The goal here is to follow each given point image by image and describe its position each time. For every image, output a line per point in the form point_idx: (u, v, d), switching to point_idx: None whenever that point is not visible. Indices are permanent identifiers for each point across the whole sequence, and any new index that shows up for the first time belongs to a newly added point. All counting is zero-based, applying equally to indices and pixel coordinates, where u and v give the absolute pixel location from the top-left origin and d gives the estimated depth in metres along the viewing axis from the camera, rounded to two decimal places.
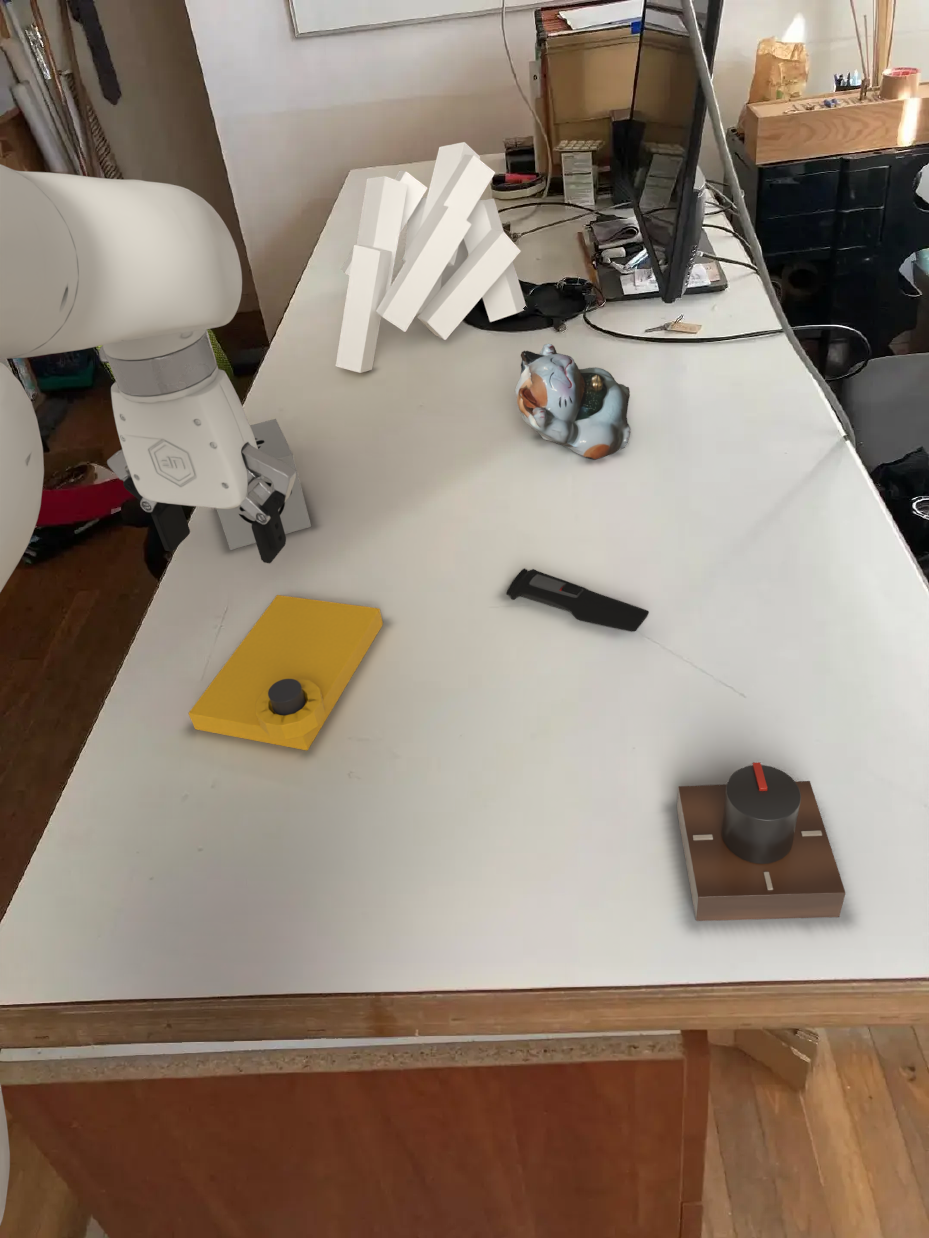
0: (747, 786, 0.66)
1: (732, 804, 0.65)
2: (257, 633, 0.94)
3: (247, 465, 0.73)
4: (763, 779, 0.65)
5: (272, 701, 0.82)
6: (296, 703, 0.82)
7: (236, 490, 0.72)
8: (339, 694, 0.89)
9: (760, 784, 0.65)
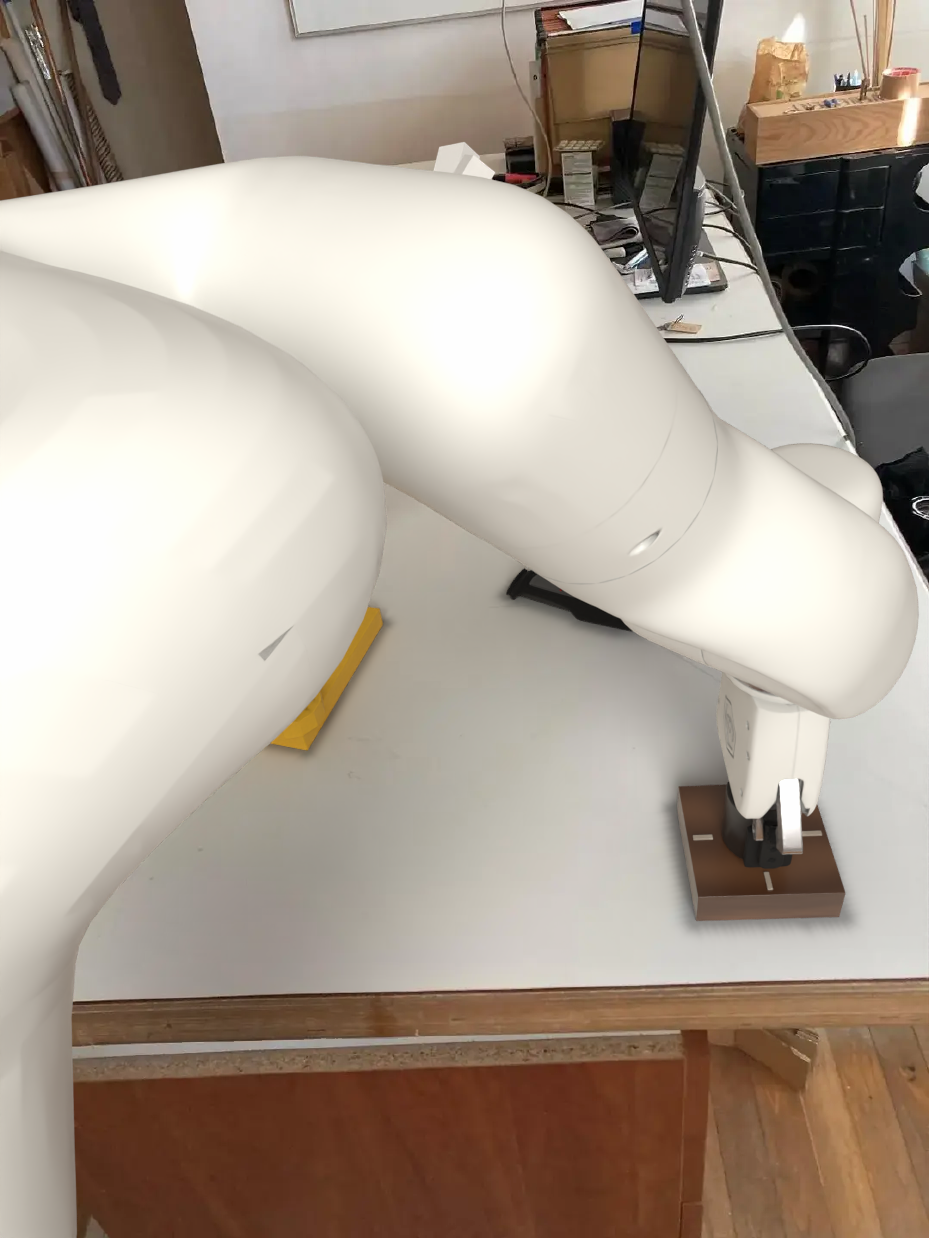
0: None
1: (732, 804, 0.65)
2: None
3: None
4: None
5: None
6: None
7: (746, 806, 0.59)
8: (339, 694, 0.89)
9: None
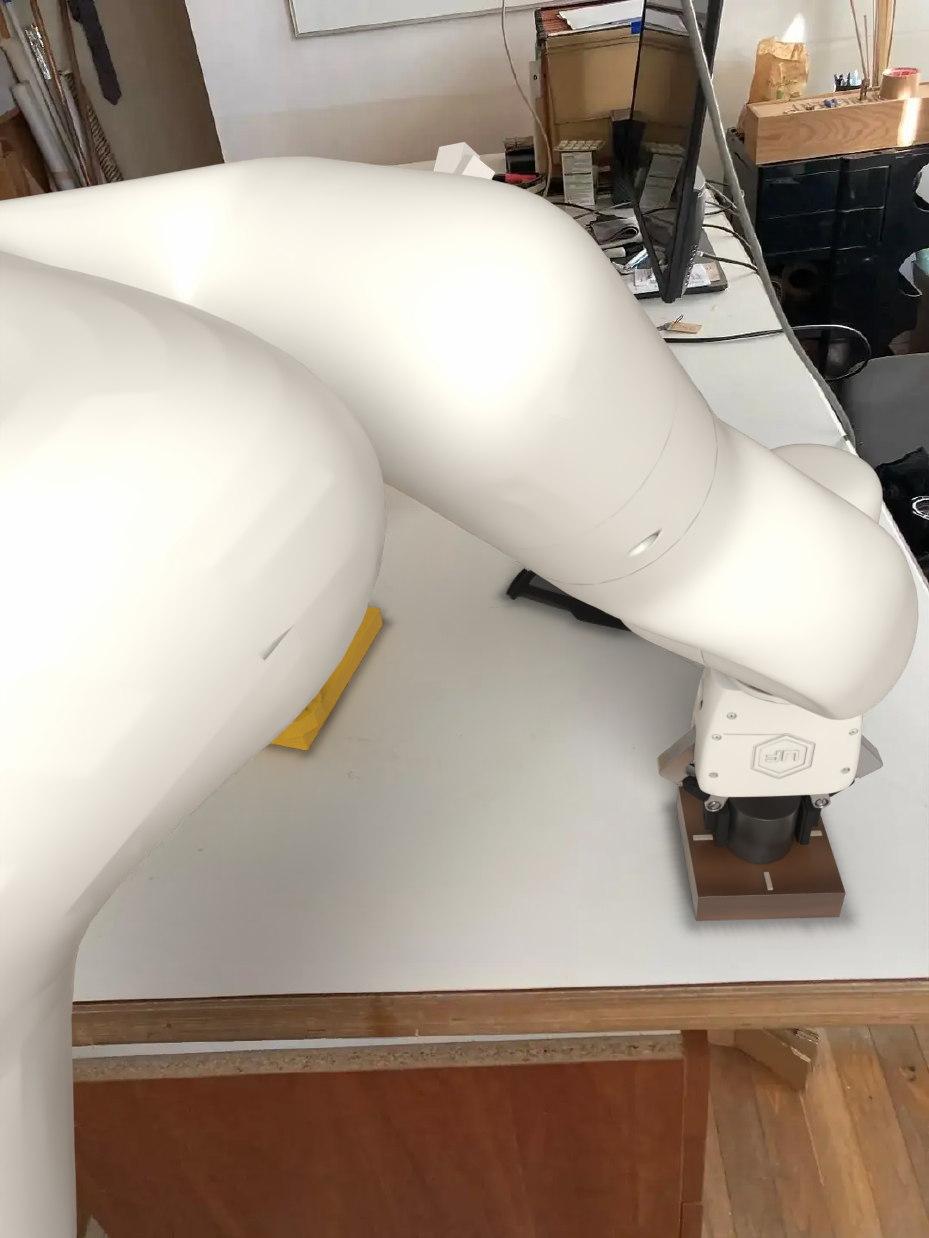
0: (758, 802, 0.64)
1: (784, 818, 0.63)
2: None
3: None
4: None
5: None
6: None
7: (854, 772, 0.60)
8: (339, 694, 0.89)
9: None
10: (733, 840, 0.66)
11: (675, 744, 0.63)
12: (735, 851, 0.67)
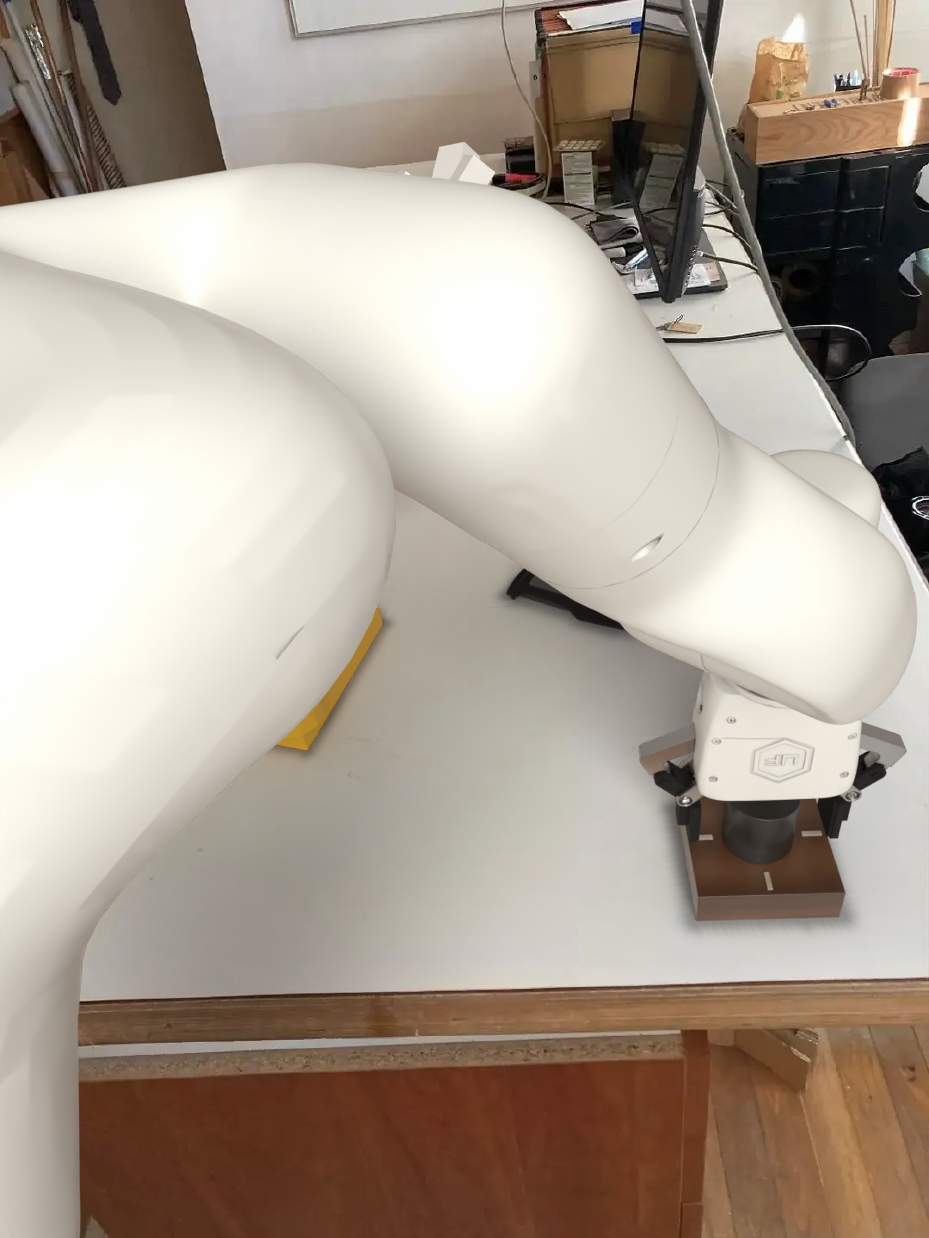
0: (758, 802, 0.64)
1: (783, 819, 0.63)
2: None
3: None
4: None
5: None
6: None
7: (853, 776, 0.60)
8: (339, 694, 0.89)
9: None
10: (732, 839, 0.66)
11: (665, 736, 0.63)
12: (734, 850, 0.67)
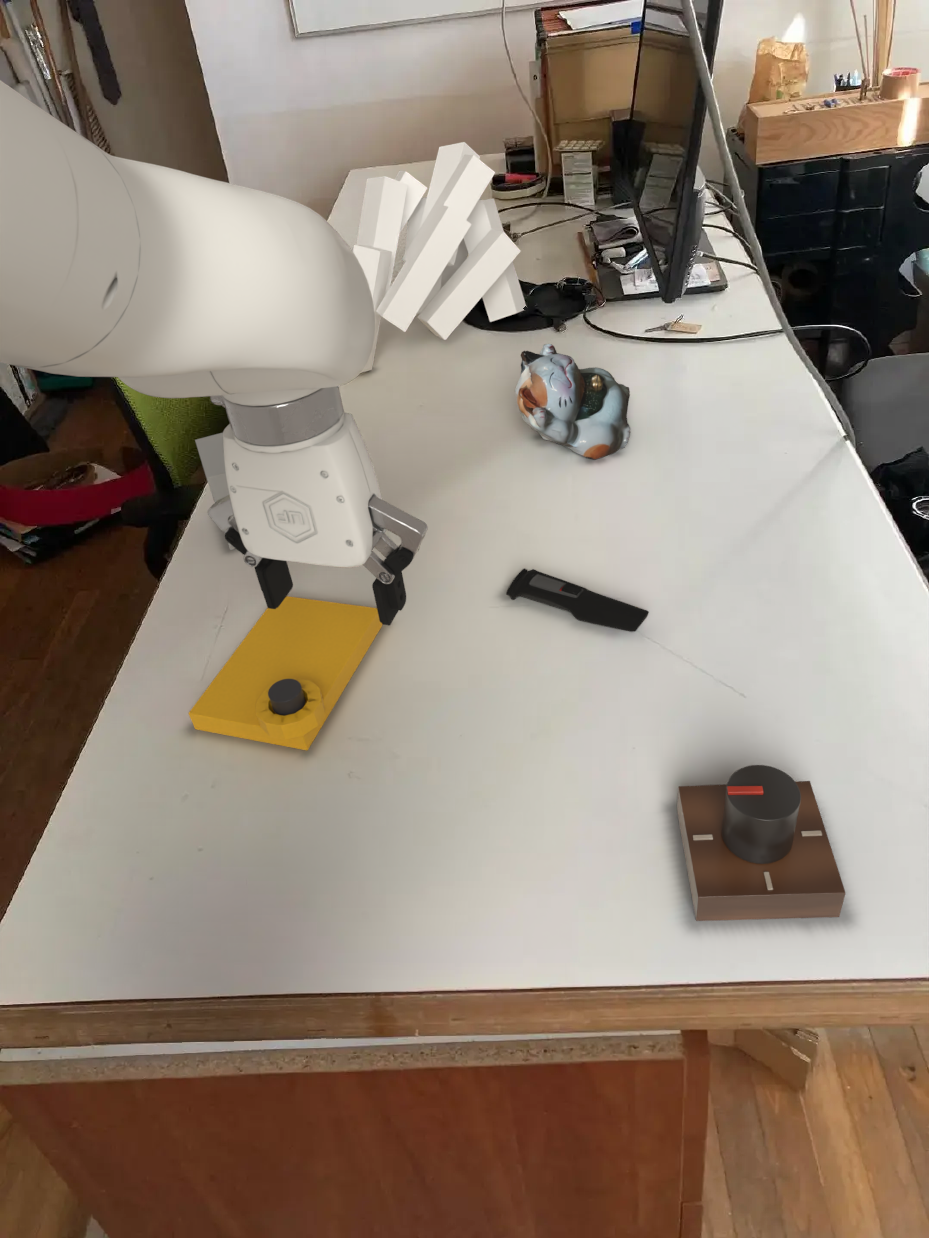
0: (758, 802, 0.64)
1: (783, 819, 0.63)
2: (257, 633, 0.94)
3: (373, 520, 0.65)
4: (751, 787, 0.65)
5: (272, 701, 0.82)
6: (296, 703, 0.82)
7: (361, 548, 0.64)
8: (339, 694, 0.89)
9: (757, 790, 0.65)
10: (732, 839, 0.66)
11: None
12: (734, 850, 0.67)
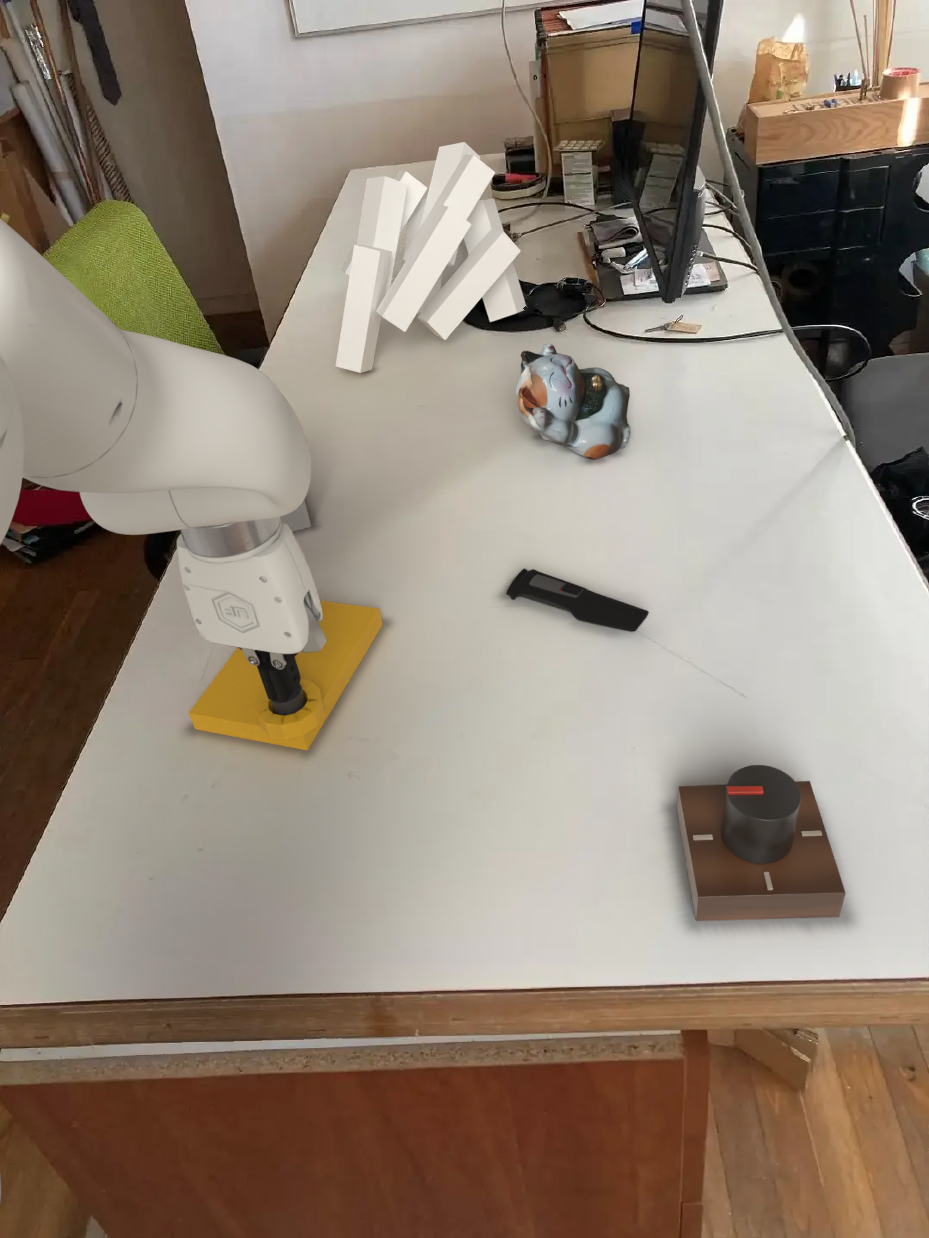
0: (758, 802, 0.64)
1: (783, 819, 0.63)
2: None
3: None
4: (751, 787, 0.65)
5: (272, 702, 0.82)
6: (296, 704, 0.82)
7: (298, 638, 0.74)
8: (339, 694, 0.89)
9: (757, 790, 0.65)
10: (732, 839, 0.66)
11: None
12: (734, 850, 0.67)
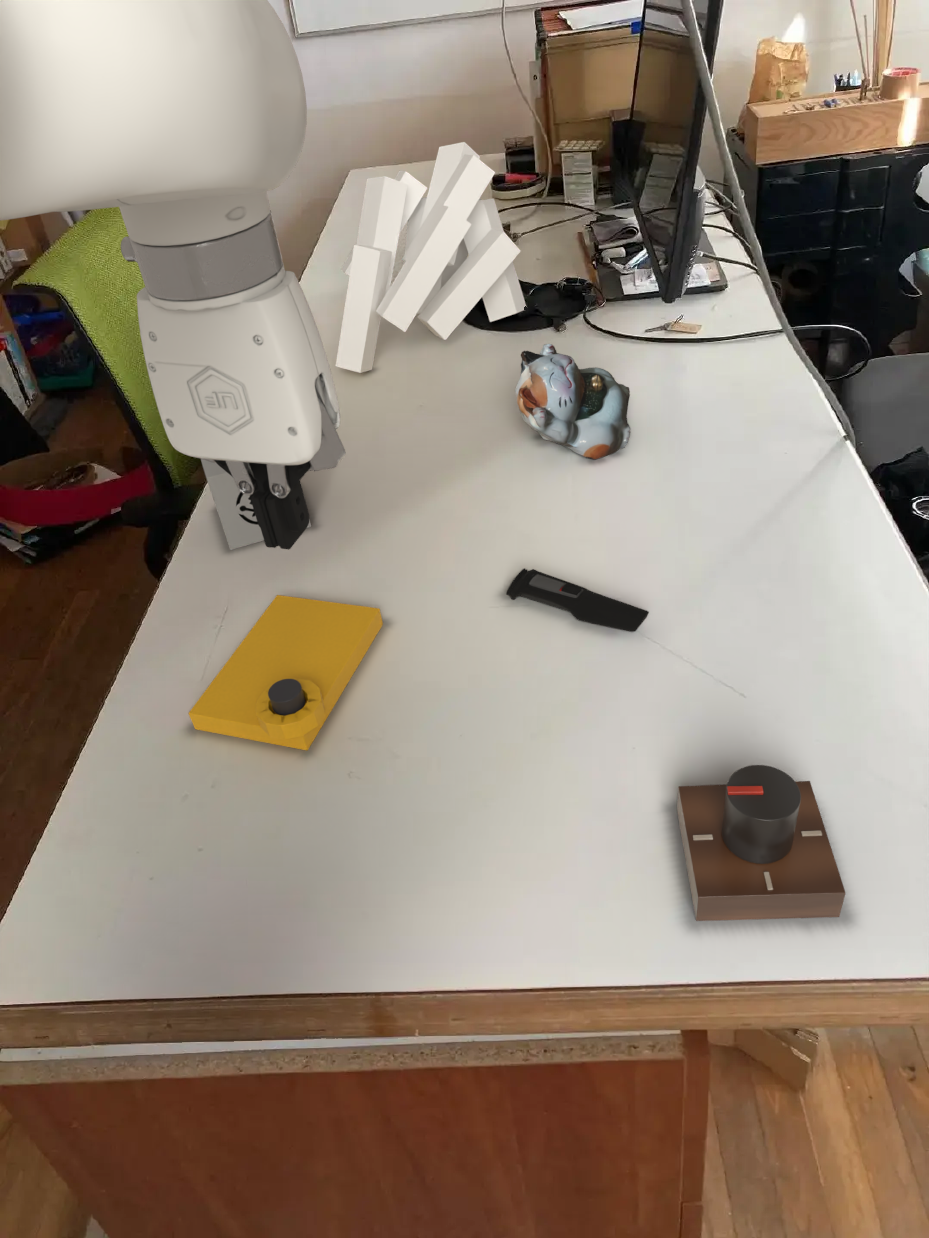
0: (758, 802, 0.64)
1: (783, 819, 0.63)
2: (257, 633, 0.94)
3: None
4: (751, 787, 0.65)
5: (272, 701, 0.82)
6: (296, 703, 0.82)
7: (307, 438, 0.53)
8: (339, 694, 0.89)
9: (757, 790, 0.65)
10: (732, 839, 0.66)
11: None
12: (734, 850, 0.67)
